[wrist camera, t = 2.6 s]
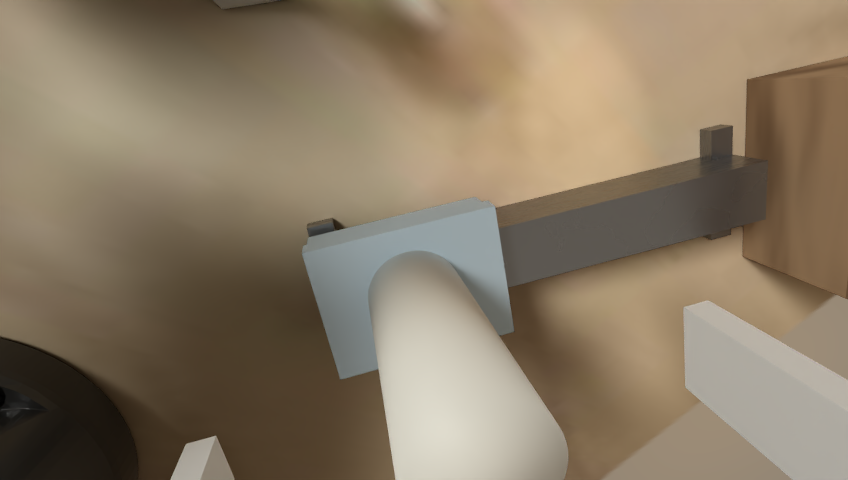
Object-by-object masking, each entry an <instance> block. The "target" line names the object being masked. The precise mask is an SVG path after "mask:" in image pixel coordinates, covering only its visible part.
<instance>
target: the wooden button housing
mask: <svg viewBox="0 0 848 480" xmlns="http://www.w3.org/2000/svg"><path fill="white" fill-rule="evenodd" d="M745 157H750V158H756V159H762V160H768V175H767V199H766V219H765V220H761V221H757V222H754V223H750V224H746V225H744V226H743V257H746V258H748V259H751V260H753V261H756V262H758V263H761V264H763V265H765V266H768V267H770V268H773V269H775V270H778V271H780V272H782V273H785V274H787V275H790V276H792V277H795V278H797V279H800V280H802V281H804V282H807V283H809V284H812V285H814V286H817V287H819V288H822V289H824V290H826V291H829V292H831V293H834V294H836V295H839V296H841V297H843V298H846V299H848V56H847V57H843V58H839V59H834V60H830V61H826V62H821V63H817V64H813V65H808V66H804V67H800V68H795V69H791V70H787V71H782V72H778V73H774V74H769V75H765V76H761V77H756V78H752V79H748V80H747V111H746V149H745Z"/></svg>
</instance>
